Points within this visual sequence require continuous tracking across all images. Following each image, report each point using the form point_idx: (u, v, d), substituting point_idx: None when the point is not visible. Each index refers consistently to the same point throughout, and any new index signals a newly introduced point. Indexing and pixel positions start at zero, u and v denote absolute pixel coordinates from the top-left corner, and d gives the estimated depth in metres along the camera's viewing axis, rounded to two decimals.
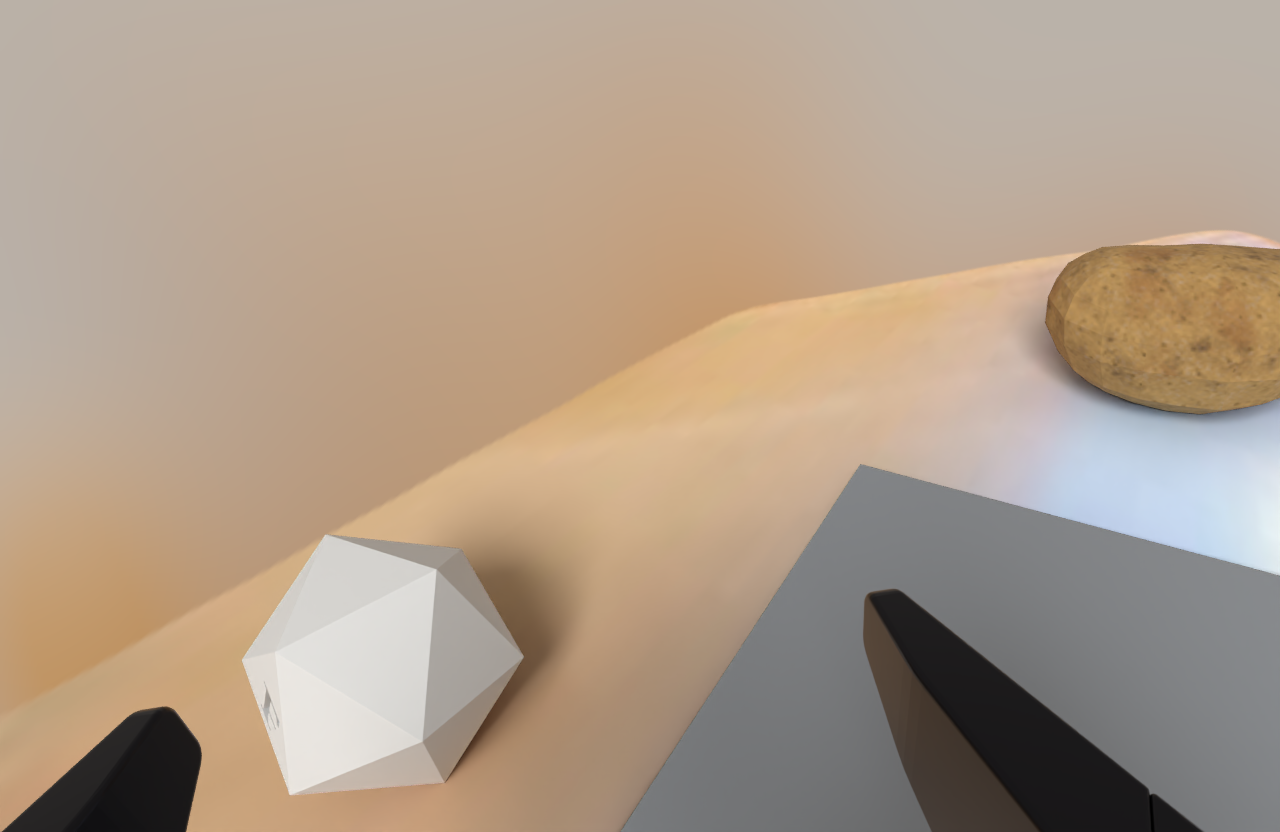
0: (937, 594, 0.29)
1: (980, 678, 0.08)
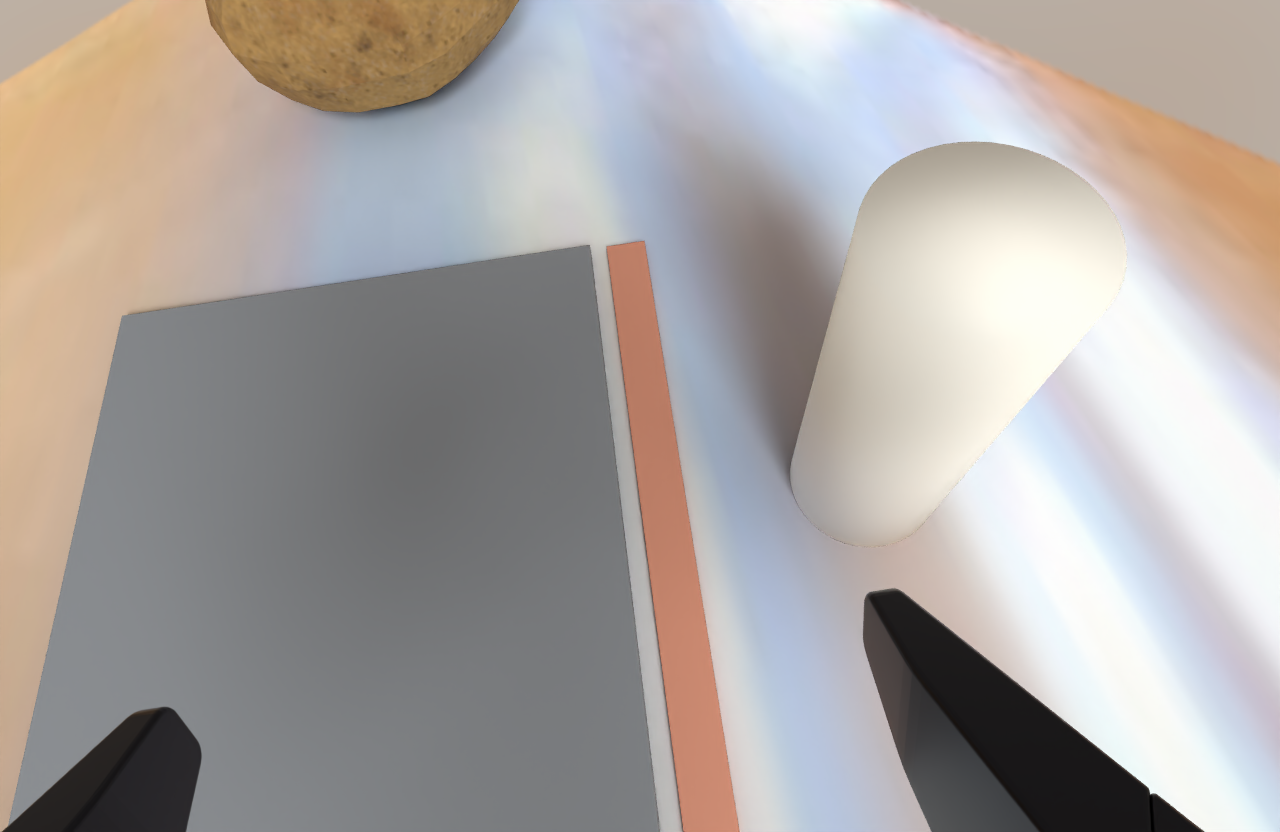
0: (233, 436, 0.28)
1: (980, 678, 0.08)
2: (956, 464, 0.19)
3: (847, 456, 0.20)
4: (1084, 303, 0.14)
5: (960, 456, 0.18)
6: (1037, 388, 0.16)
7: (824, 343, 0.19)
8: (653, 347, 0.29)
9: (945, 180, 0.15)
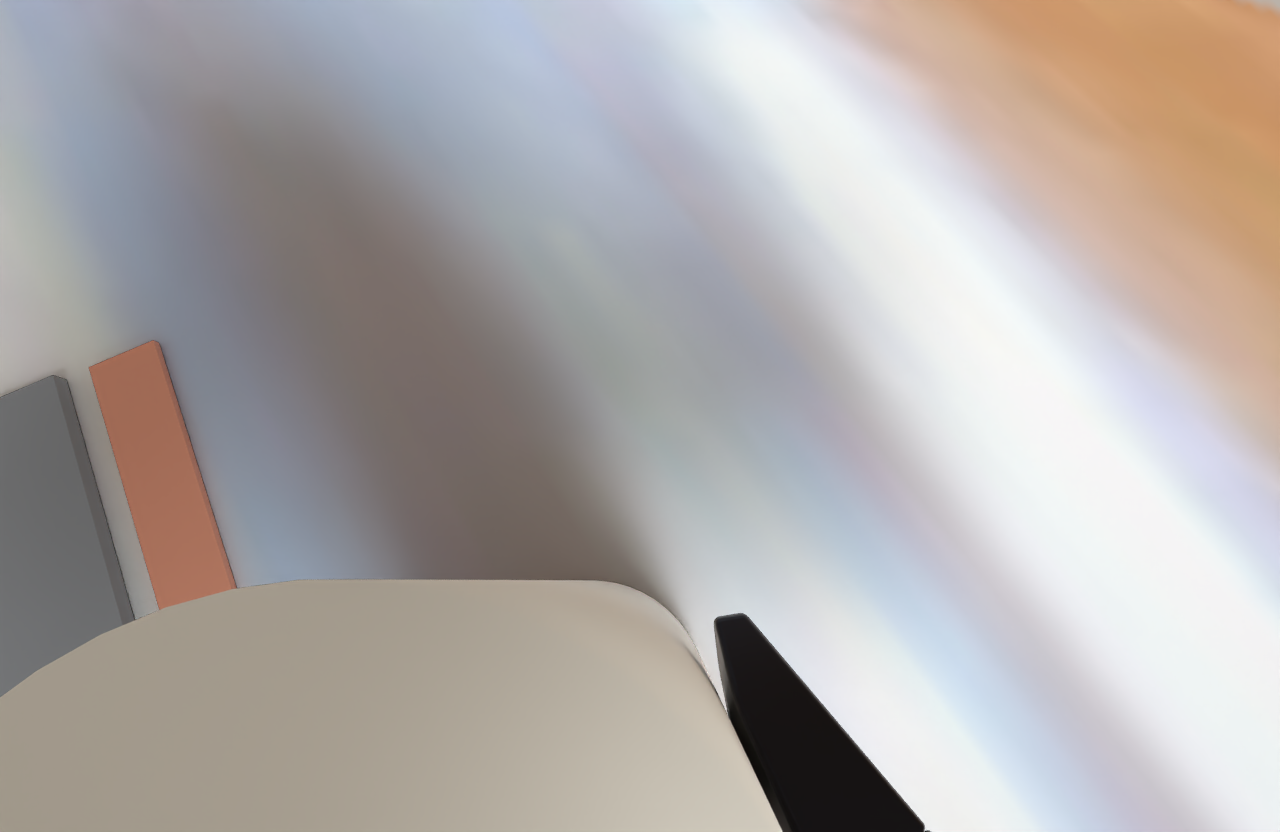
0: None
1: (795, 708, 0.08)
2: None
3: None
4: None
5: None
6: None
7: None
8: (204, 549, 0.16)
9: None
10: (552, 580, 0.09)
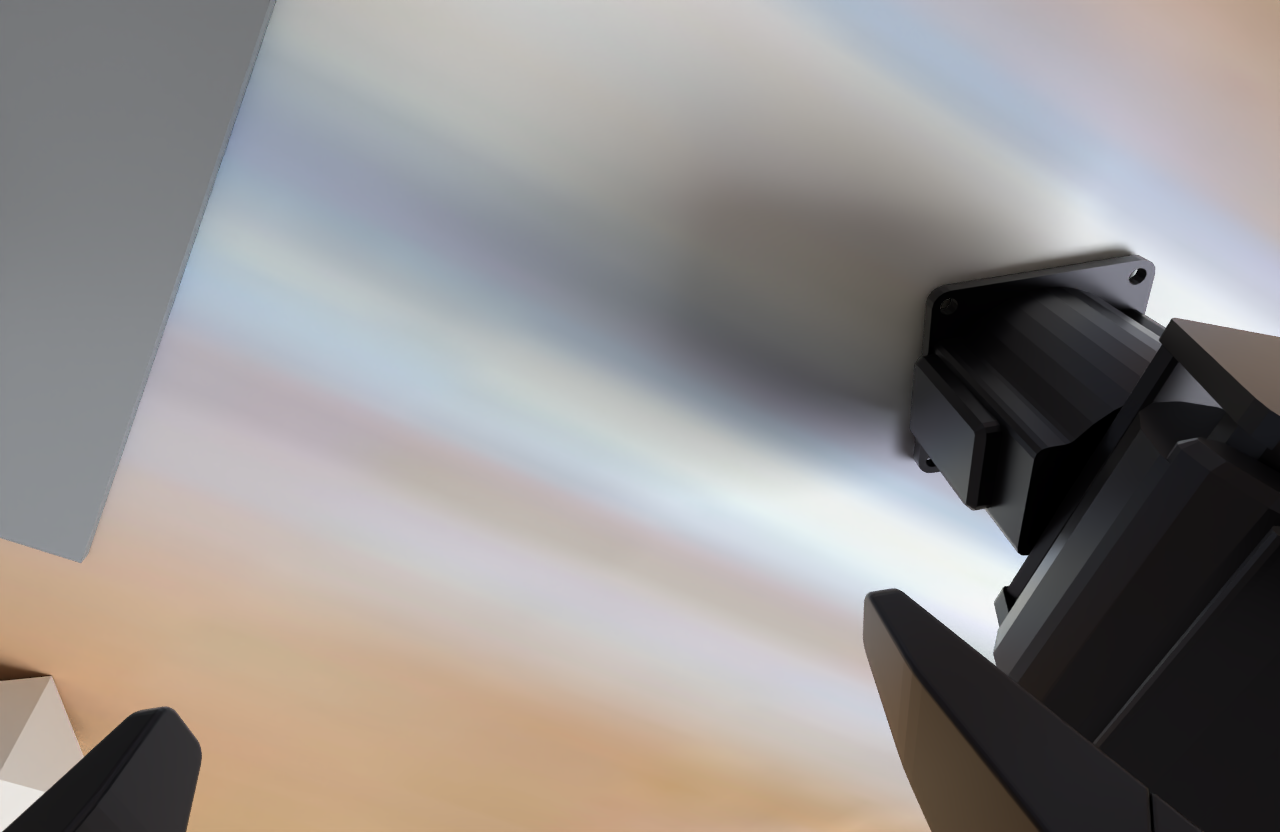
0: None
1: (980, 678, 0.08)
2: None
3: None
4: None
5: None
6: None
7: None
8: None
9: None
10: None
